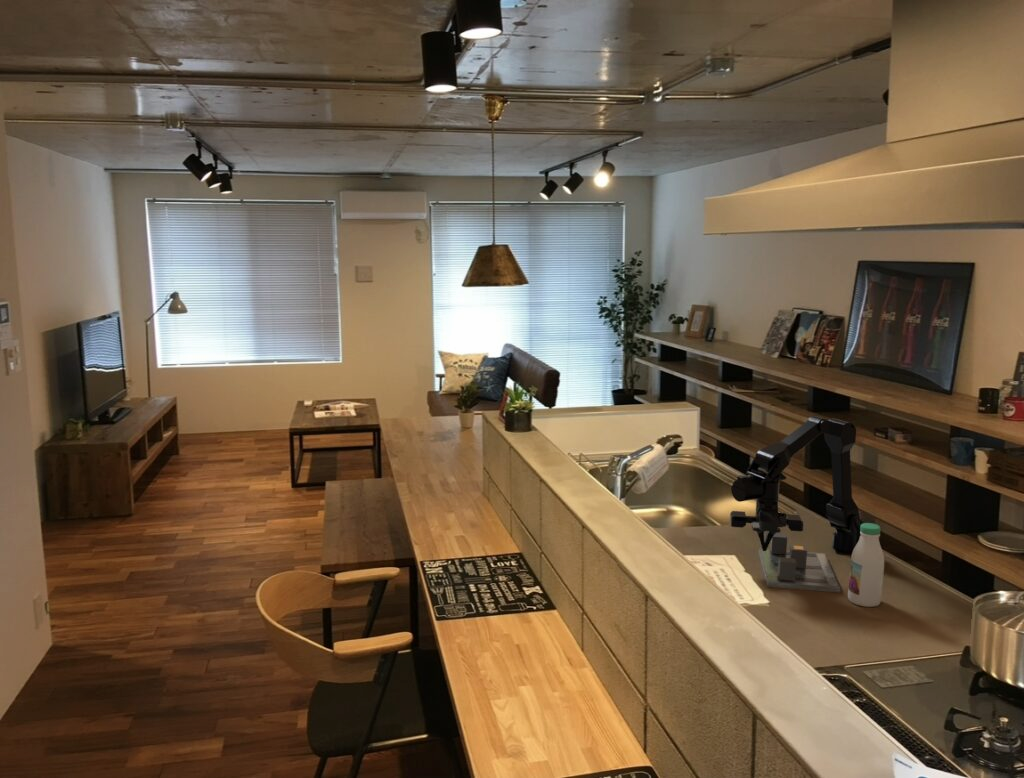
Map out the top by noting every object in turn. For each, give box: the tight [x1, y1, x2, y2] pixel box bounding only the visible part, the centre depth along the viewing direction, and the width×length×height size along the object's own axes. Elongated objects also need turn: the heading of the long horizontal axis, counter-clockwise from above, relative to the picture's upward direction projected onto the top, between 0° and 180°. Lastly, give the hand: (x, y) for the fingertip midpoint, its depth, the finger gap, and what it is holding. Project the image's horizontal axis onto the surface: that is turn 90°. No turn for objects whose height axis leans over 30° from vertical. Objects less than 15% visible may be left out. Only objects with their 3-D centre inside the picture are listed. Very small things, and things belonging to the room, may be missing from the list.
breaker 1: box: [769, 532, 788, 554], centre depth 238 cm, size 4×3×5 cm
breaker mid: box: [789, 545, 808, 568], centre depth 229 cm, size 4×3×5 cm
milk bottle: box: [847, 522, 885, 608], centre depth 209 cm, size 8×8×20 cm
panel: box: [758, 548, 841, 593], centre depth 229 cm, size 18×23×2 cm
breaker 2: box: [778, 557, 796, 581], centre depth 221 cm, size 4×3×5 cm
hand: (764, 550), depth 230 cm, fingers closed
